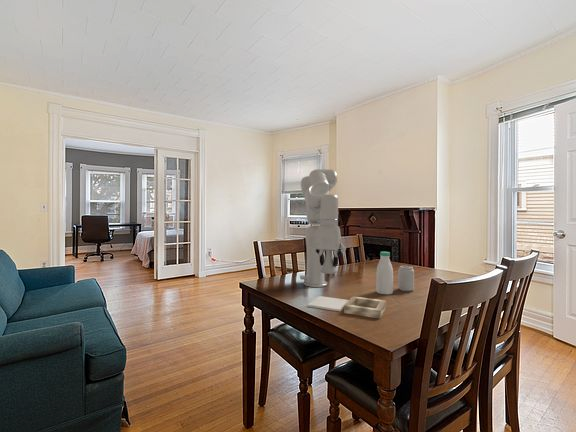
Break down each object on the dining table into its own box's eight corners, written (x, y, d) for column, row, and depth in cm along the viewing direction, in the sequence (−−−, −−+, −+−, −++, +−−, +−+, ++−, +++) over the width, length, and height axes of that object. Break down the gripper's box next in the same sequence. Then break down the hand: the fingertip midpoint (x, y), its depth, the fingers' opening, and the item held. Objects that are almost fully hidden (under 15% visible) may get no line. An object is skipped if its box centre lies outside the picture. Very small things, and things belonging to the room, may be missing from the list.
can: (413, 288, 159) (413, 265, 159) (414, 292, 152) (414, 268, 152) (398, 287, 161) (398, 264, 161) (398, 291, 154) (398, 267, 154)
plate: (307, 306, 130) (307, 304, 130) (318, 297, 143) (318, 295, 143) (339, 311, 124) (339, 309, 124) (348, 301, 137) (348, 300, 137)
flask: (318, 270, 137) (319, 248, 136) (335, 270, 137) (335, 248, 137) (322, 274, 129) (322, 250, 129) (339, 274, 130) (339, 250, 130)
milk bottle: (393, 295, 147) (394, 253, 146) (376, 294, 149) (377, 252, 148) (391, 291, 155) (392, 251, 154) (375, 290, 156) (376, 250, 155)
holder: (343, 313, 123) (344, 305, 123) (352, 303, 135) (352, 296, 135) (380, 318, 117) (380, 310, 116) (385, 307, 129) (386, 300, 129)
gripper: (307, 223, 133) (307, 265, 134) (346, 224, 126) (345, 268, 126) (313, 222, 140) (313, 262, 140) (350, 223, 132) (350, 265, 133)
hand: (328, 264), depth 133 cm, fingers closed on flask, 5 cm apart
